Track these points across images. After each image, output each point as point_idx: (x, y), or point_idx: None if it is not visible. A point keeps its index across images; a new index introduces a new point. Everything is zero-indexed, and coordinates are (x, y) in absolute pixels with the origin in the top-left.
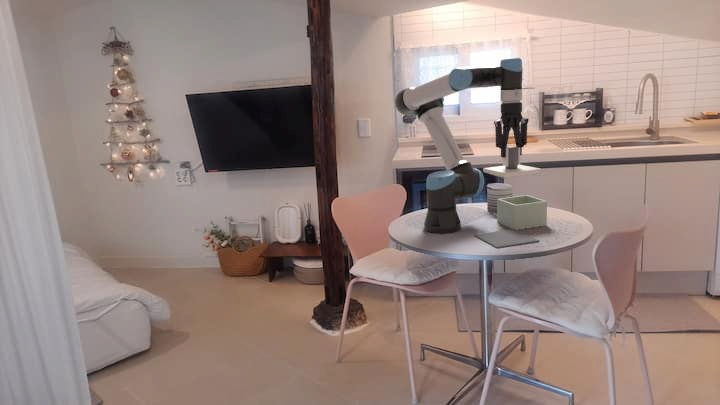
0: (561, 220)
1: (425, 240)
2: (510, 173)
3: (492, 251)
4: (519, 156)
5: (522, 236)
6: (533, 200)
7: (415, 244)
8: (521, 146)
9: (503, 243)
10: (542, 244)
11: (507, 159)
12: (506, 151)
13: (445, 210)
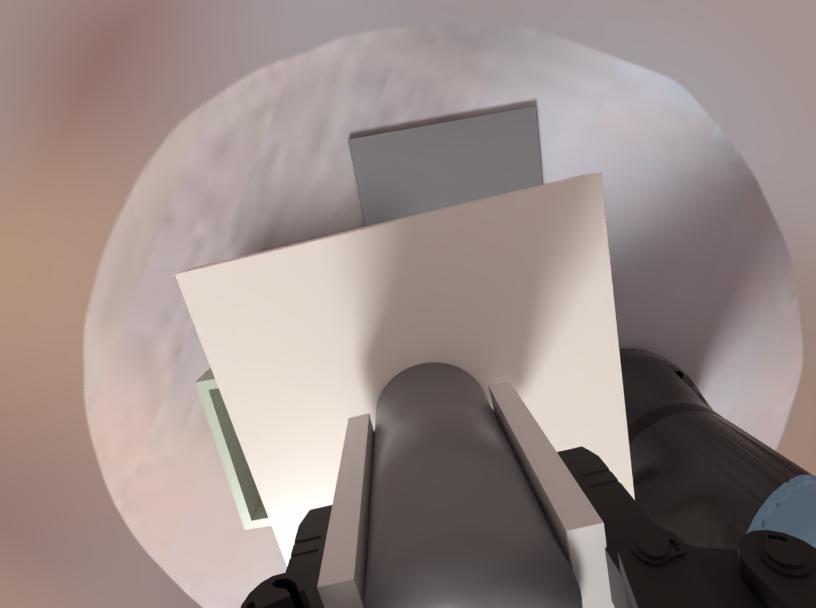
0: (159, 389)
1: (732, 286)
2: (540, 186)
3: (565, 73)
4: (348, 475)
5: (390, 210)
6: (239, 459)
7: (783, 249)
8: (298, 584)
9: (495, 142)
10: (351, 100)
11: (523, 422)
12: (584, 494)
13: (683, 405)
